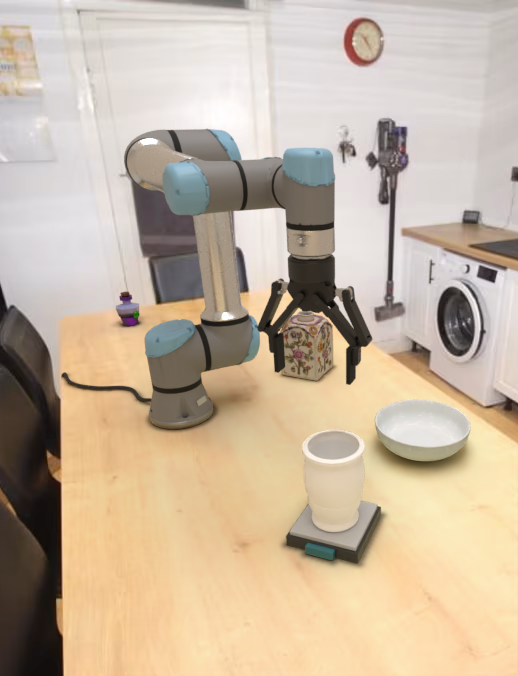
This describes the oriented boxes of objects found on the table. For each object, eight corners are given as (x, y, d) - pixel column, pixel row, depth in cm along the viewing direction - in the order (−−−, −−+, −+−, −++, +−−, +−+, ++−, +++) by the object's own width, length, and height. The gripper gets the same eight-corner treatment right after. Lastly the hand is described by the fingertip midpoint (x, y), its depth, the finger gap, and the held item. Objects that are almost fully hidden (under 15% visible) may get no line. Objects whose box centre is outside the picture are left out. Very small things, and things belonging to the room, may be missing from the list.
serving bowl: (407, 484, 108) (408, 456, 105) (358, 437, 125) (358, 411, 122) (488, 458, 117) (491, 430, 114) (432, 416, 134) (433, 391, 131)
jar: (358, 541, 90) (358, 466, 83) (298, 533, 91) (293, 458, 85) (369, 502, 99) (370, 431, 92) (314, 495, 101) (311, 425, 94)
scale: (283, 548, 92) (282, 536, 91) (316, 500, 104) (316, 488, 103) (355, 567, 88) (355, 554, 87) (380, 515, 100) (381, 503, 99)
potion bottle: (138, 328, 194) (132, 295, 189) (114, 328, 194) (107, 295, 189) (146, 320, 202) (141, 288, 197) (123, 320, 202) (117, 288, 197)
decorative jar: (281, 375, 156) (277, 316, 149) (299, 360, 166) (296, 304, 158) (318, 382, 152) (316, 321, 145) (335, 366, 162) (333, 308, 154)
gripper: (230, 252, 86) (241, 372, 96) (379, 267, 78) (375, 396, 88) (253, 243, 92) (262, 357, 102) (393, 255, 85) (388, 377, 94)
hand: (314, 375), depth 95 cm, fingers open, 13 cm apart
